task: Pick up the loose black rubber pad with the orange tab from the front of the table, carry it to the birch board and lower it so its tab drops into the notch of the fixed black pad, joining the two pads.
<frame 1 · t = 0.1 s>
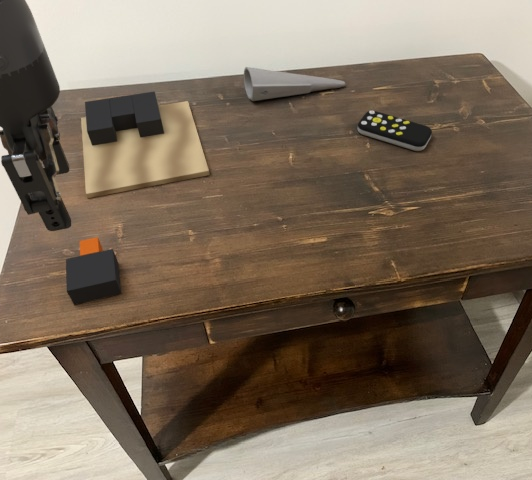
hand: (60, 198, 54), 19 cm above the table, tool pointing down, fingers open, 8 cm apart
fixed pad: (126, 124, 94), resting on board
board: (143, 147, 91), on the table
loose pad: (97, 283, 71), on the table
remote control: (393, 135, 96), on the table
long tapered cone: (295, 89, 105), on the table
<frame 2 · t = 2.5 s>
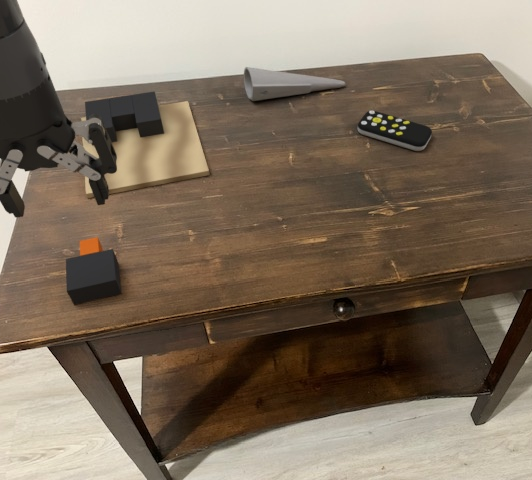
hand: (62, 206, 59), 15 cm above the table, tool pointing down, fingers open, 8 cm apart
nothing on the table moved.
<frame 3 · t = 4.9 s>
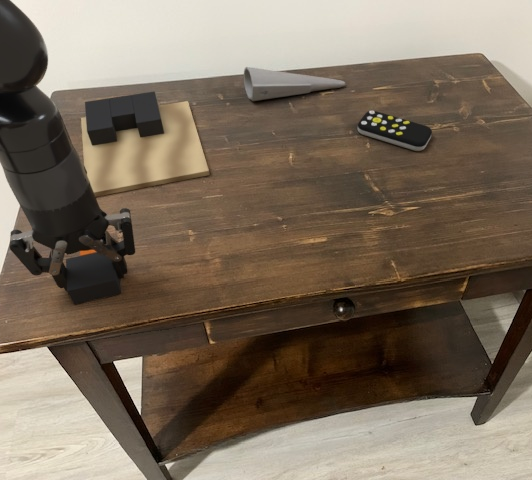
hand: (95, 279, 71), 1 cm above the table, tool pointing down, fingers closed on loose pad, 6 cm apart
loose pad: (97, 283, 71), on the table, touching gripper
everything else where it was.
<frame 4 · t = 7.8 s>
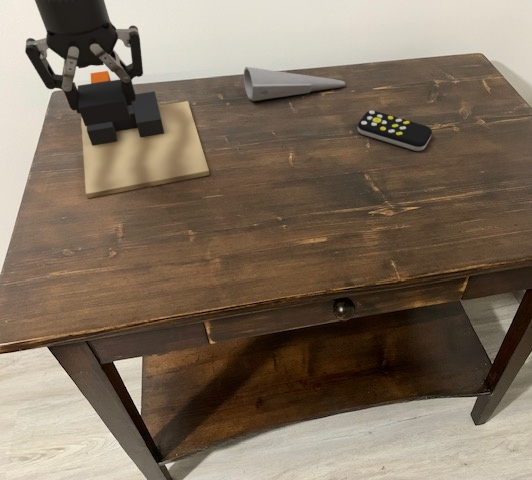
hand: (105, 106, 74), 14 cm above the table, tool pointing down, fingers closed on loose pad, 6 cm apart
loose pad: (106, 111, 75), point 13 cm above the table, touching gripper
everything else where it was.
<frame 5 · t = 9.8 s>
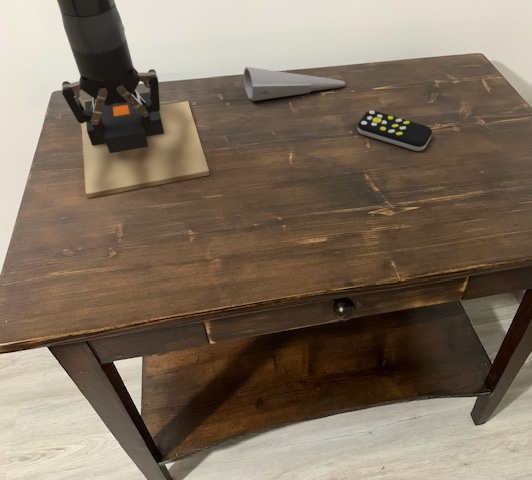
hand: (126, 136, 86), 4 cm above the table, tool pointing down, fingers closed on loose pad, 6 cm apart
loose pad: (127, 140, 87), point 3 cm above the table, touching gripper
everything else where it was.
when the fingers open (2 cm above the table, at t = 11.1 s): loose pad stays where it is, resting on board.
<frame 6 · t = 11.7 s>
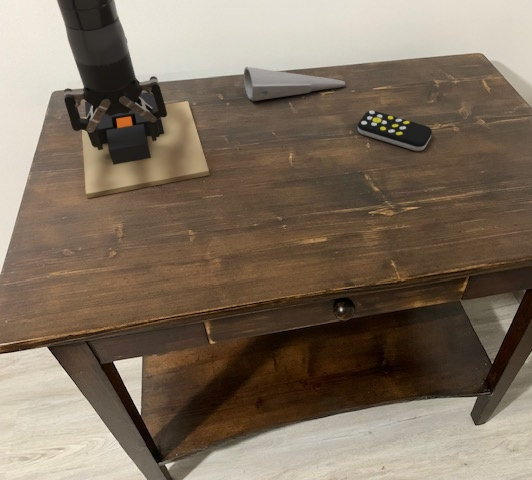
hand: (127, 142, 87), 3 cm above the table, tool pointing down, fingers open, 8 cm apart
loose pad: (130, 151, 89), point 1 cm above the table, touching board
everything else where it was.
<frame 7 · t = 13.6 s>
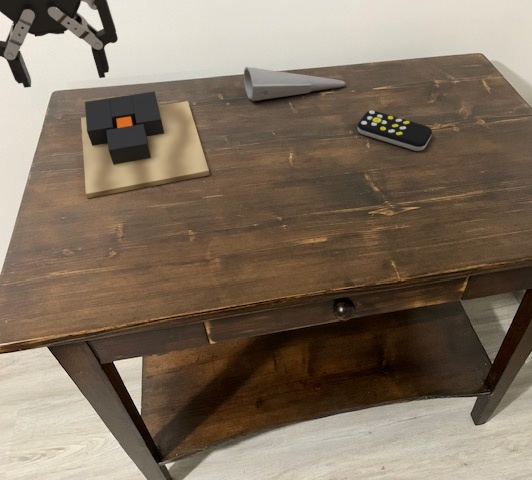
hand: (65, 79, 65), 22 cm above the table, tool pointing down, fingers open, 8 cm apart
nothing on the table moved.
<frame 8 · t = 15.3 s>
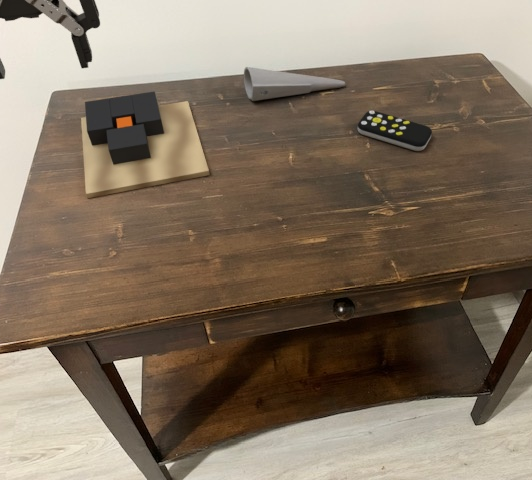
hand: (44, 70, 58), 26 cm above the table, tool pointing down, fingers open, 8 cm apart
nothing on the table moved.
at the end: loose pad 0.1 cm from the target spot on the table beside the fixed pad, resting on board; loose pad tilted 0°; the gripper is holding nothing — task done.
